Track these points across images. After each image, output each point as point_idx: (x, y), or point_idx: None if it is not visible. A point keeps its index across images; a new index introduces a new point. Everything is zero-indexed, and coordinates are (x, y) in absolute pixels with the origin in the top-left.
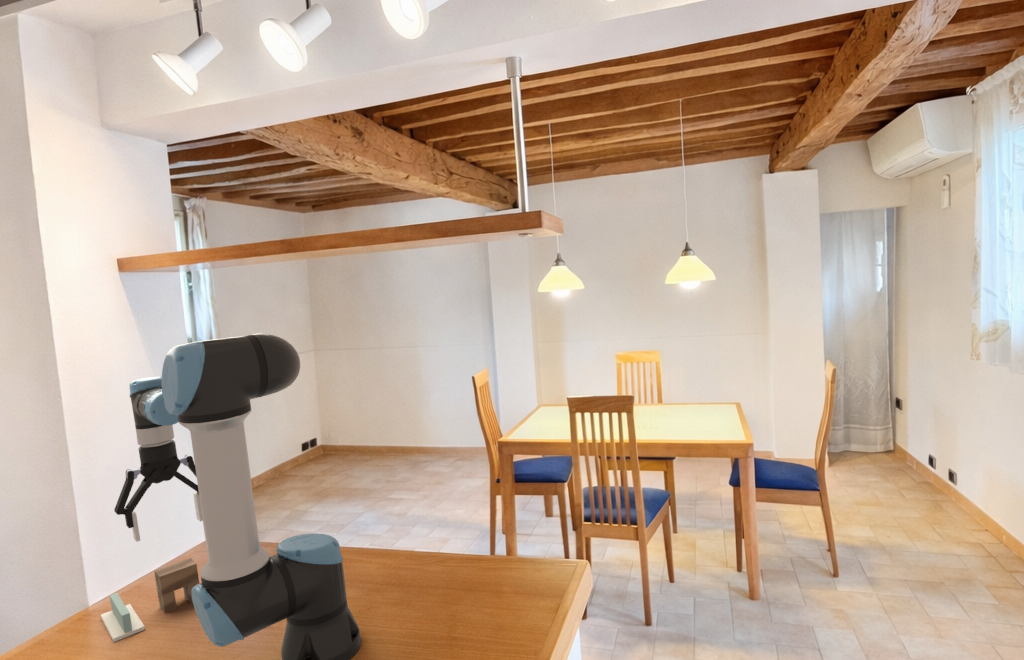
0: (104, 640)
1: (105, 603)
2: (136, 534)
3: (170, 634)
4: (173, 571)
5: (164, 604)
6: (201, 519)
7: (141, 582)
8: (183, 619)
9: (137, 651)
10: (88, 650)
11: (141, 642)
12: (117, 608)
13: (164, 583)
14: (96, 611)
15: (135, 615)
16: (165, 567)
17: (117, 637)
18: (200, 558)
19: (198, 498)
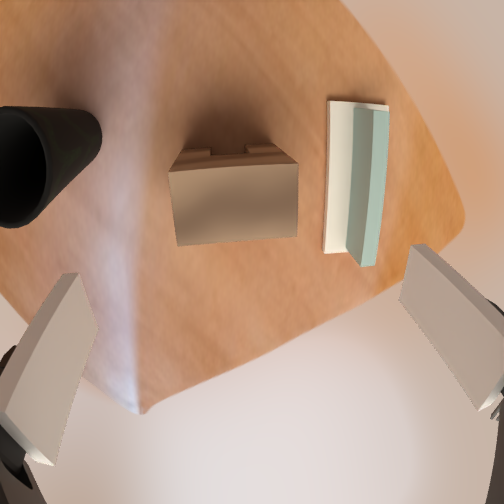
0: (394, 132)
1: (348, 304)
2: (443, 264)
3: (287, 24)
4: (249, 170)
5: (276, 147)
6: (68, 279)
7: (274, 345)
8: (245, 71)
9: (356, 19)
10: (420, 119)
11: (344, 47)
12: (386, 167)
13: (279, 158)
14: (368, 282)
15: (332, 179)
16: (263, 231)
17: (381, 105)
18: (156, 365)
19: (5, 387)
